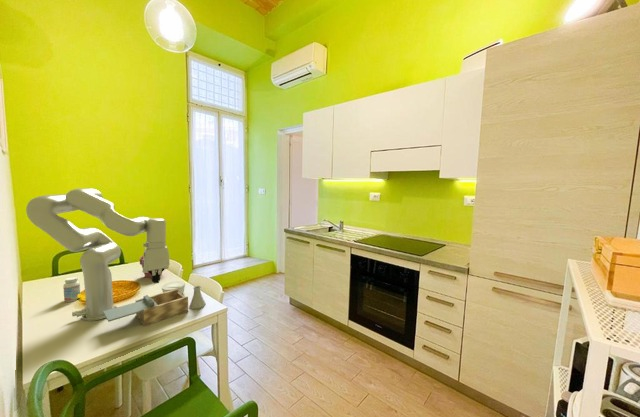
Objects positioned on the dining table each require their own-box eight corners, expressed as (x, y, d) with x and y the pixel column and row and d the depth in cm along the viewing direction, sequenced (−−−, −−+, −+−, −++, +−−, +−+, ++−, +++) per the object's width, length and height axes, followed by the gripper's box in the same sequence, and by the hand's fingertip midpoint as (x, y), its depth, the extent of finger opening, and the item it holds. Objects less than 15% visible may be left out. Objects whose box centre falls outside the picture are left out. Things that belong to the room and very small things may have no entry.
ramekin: (164, 301, 134) (163, 291, 133) (160, 293, 142) (159, 284, 142) (187, 295, 141) (187, 286, 141) (182, 288, 150) (182, 279, 149)
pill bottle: (61, 301, 130) (59, 279, 129) (75, 296, 136) (74, 275, 135) (69, 303, 129) (67, 281, 127) (83, 297, 134) (82, 277, 133)
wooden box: (144, 326, 111) (144, 310, 110) (136, 315, 119) (135, 300, 119) (188, 311, 124) (188, 296, 123) (177, 302, 133) (177, 288, 132)
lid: (108, 321, 102) (108, 315, 102) (103, 312, 109) (102, 306, 109) (158, 306, 115) (158, 301, 115) (151, 299, 122) (150, 293, 122)
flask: (199, 310, 125) (198, 290, 124) (186, 308, 127) (185, 289, 126) (208, 303, 132) (208, 285, 131) (195, 302, 134) (195, 283, 133)
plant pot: (170, 271, 175) (170, 253, 174) (159, 279, 161) (158, 260, 160) (148, 271, 174) (148, 253, 173) (135, 279, 160) (134, 259, 159)
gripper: (139, 248, 112) (139, 289, 114) (176, 244, 123) (175, 281, 125) (134, 245, 117) (134, 284, 119) (170, 241, 128) (170, 276, 130)
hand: (155, 282), depth 122 cm, fingers closed
